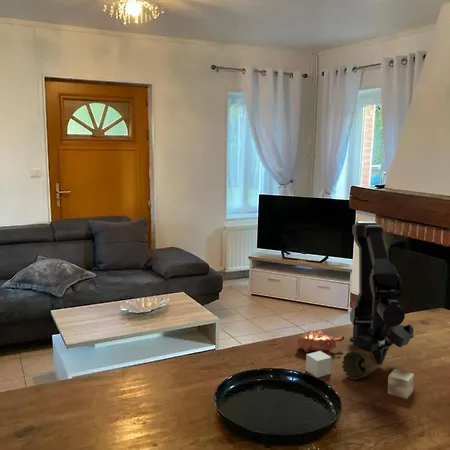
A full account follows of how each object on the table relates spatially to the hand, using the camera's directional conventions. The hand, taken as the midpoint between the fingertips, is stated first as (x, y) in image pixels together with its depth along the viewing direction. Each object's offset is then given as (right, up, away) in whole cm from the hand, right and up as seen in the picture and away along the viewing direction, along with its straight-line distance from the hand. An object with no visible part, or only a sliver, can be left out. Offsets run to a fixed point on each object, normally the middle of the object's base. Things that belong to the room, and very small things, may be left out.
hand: (379, 364), depth 145 cm
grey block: (-18, -1, -3) cm, 19 cm away
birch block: (+1, -3, -15) cm, 15 cm away
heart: (-15, +1, +12) cm, 20 cm away
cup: (-4, +1, -3) cm, 5 cm away
